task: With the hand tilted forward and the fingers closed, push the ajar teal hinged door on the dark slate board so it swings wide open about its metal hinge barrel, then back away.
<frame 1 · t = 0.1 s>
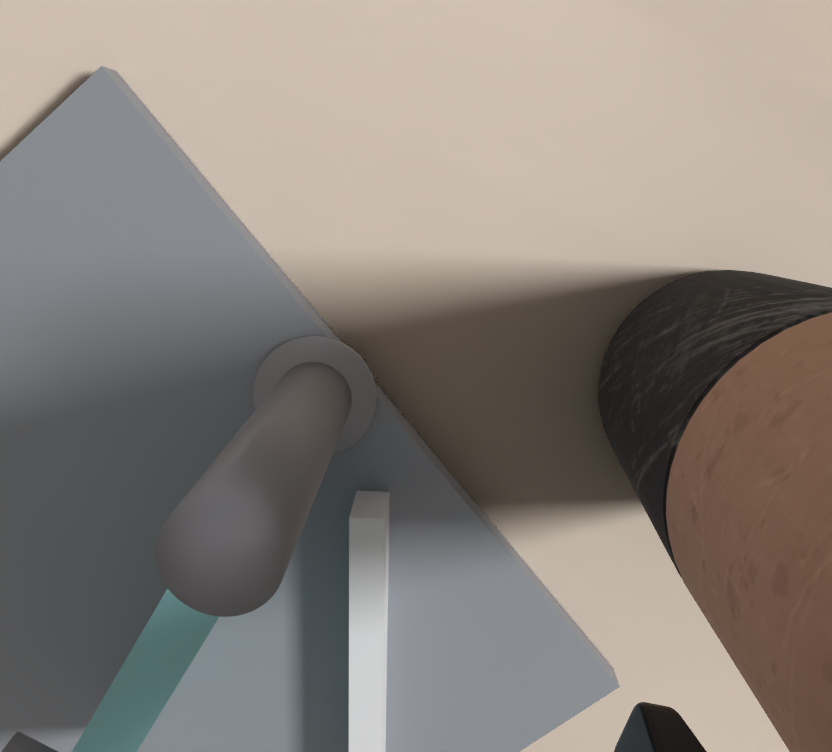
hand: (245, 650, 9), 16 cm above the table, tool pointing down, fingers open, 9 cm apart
travel mug: (712, 384, 24), on the table, touching gripper
door: (144, 642, 19), point 6 cm above the table, hinge at 30.0°
base board: (160, 567, 26), on the table
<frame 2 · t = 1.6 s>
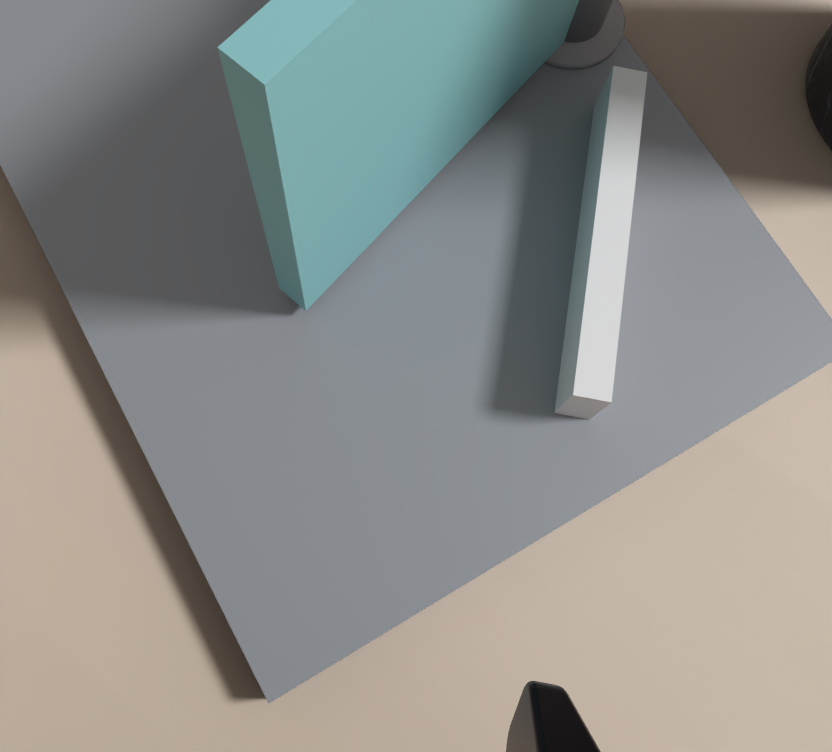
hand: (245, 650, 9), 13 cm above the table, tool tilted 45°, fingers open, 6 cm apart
door: (460, 4, 19), point 6 cm above the table, hinge at 30.0°
base board: (368, 176, 25), on the table
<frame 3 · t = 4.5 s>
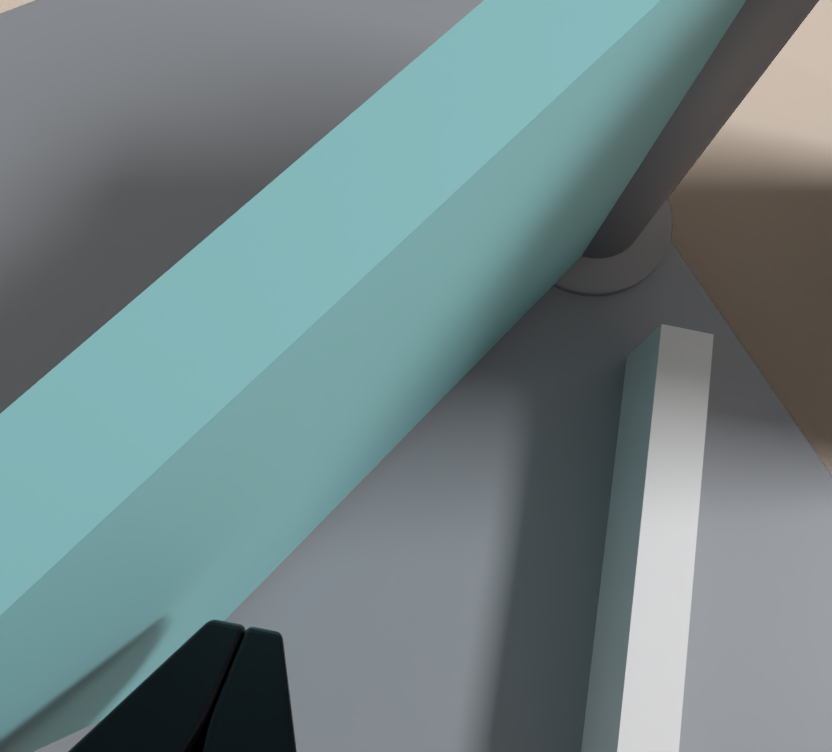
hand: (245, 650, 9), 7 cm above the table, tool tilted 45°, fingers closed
door: (397, 290, 11), point 6 cm above the table, hinge at 32.9°, touching gripper
base board: (291, 456, 17), on the table
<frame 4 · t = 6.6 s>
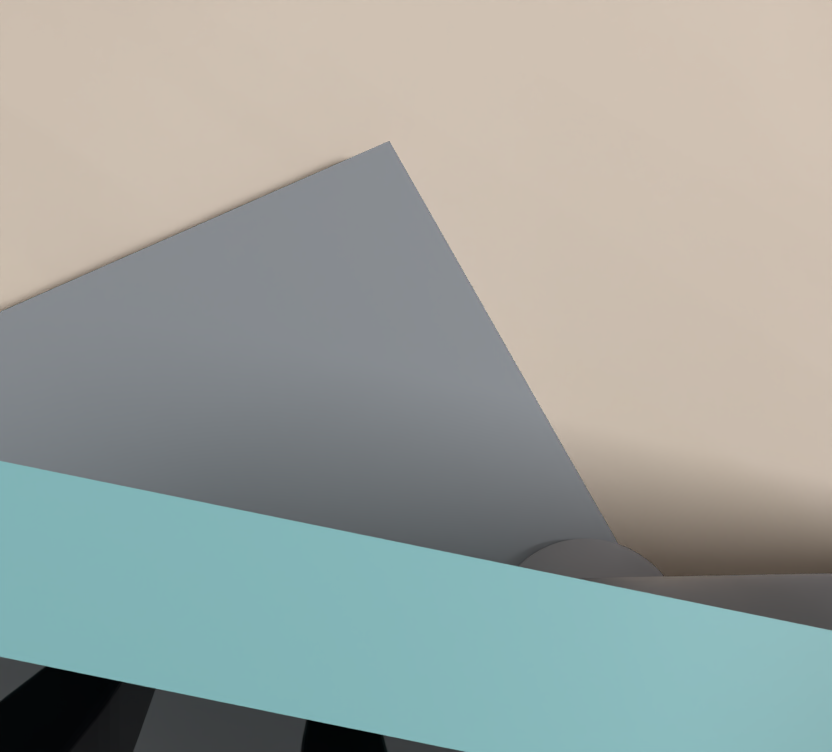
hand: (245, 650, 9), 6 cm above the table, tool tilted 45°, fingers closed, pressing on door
door: (215, 527, 9), point 6 cm above the table, hinge at 88.8°, touching gripper
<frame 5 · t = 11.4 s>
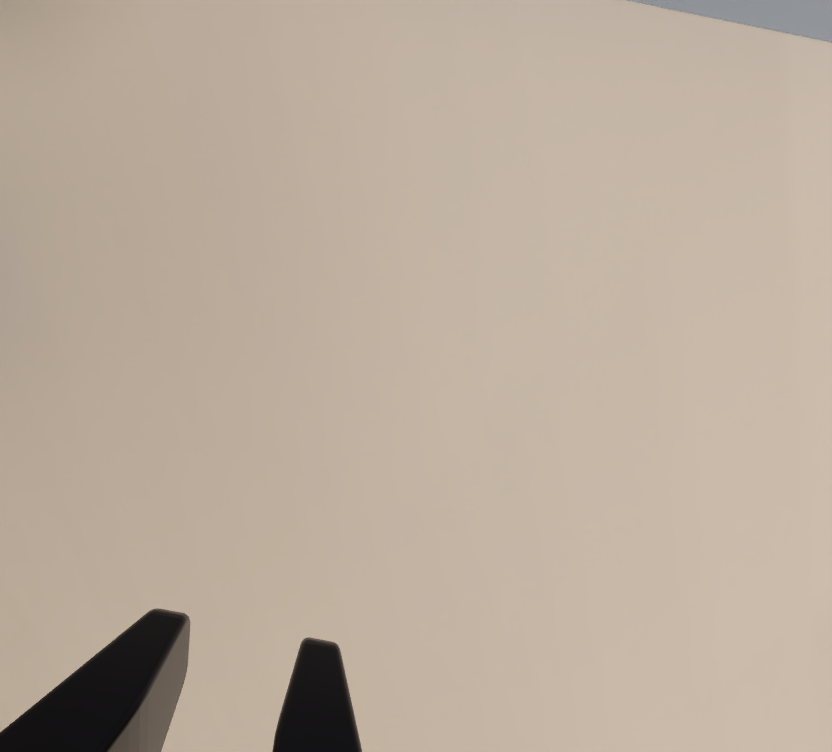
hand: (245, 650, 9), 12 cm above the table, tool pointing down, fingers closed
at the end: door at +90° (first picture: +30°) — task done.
